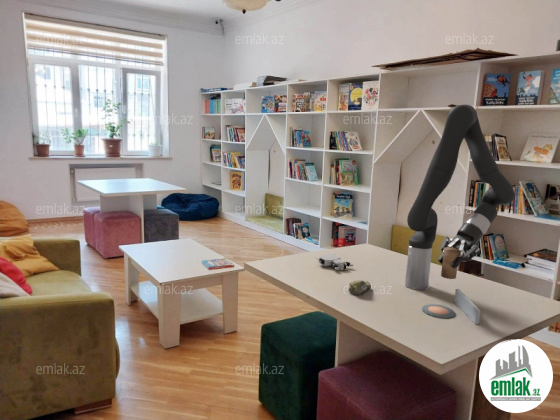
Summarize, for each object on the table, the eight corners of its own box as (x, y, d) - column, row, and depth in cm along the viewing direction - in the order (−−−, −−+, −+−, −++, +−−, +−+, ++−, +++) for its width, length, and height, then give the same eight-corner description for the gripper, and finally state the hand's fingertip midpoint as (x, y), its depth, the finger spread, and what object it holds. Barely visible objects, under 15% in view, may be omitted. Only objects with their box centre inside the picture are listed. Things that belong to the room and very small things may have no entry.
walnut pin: (438, 273, 153) (442, 246, 151) (453, 274, 153) (456, 247, 151) (443, 278, 148) (447, 250, 146) (458, 279, 148) (461, 251, 146)
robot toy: (354, 271, 198) (332, 260, 210) (355, 261, 197) (333, 251, 209) (335, 275, 191) (313, 264, 202) (336, 266, 190) (314, 255, 201)
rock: (367, 289, 176) (344, 285, 175) (371, 275, 174) (347, 270, 174) (374, 300, 165) (349, 295, 165) (378, 284, 164) (353, 280, 163)
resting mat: (418, 304, 158) (418, 303, 158) (448, 306, 157) (448, 304, 157) (427, 317, 147) (427, 315, 147) (459, 319, 147) (459, 317, 146)
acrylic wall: (454, 301, 163) (455, 288, 162) (457, 301, 163) (458, 289, 162) (475, 324, 143) (476, 310, 142) (478, 324, 143) (480, 310, 142)
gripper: (453, 217, 156) (425, 252, 153) (487, 226, 144) (458, 264, 141) (461, 230, 160) (434, 264, 156) (495, 240, 147) (467, 277, 144)
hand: (446, 264), depth 149 cm, fingers closed on walnut pin, 5 cm apart
